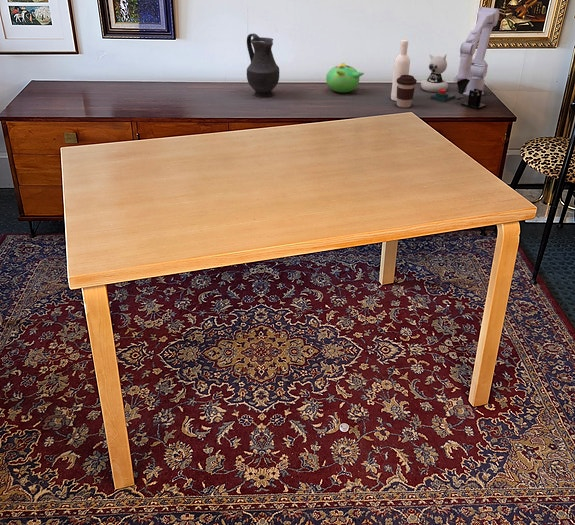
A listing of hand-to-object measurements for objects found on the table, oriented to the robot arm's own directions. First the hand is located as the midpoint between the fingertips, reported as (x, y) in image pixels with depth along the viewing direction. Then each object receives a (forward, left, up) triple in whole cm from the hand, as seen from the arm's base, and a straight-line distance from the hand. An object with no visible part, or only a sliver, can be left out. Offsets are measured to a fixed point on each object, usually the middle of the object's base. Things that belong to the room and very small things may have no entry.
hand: (460, 93), depth 329 cm
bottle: (+20, -25, -5) cm, 32 cm away
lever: (0, +5, -1) cm, 5 cm away
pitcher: (+69, -79, -5) cm, 105 cm away
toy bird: (+33, -53, -5) cm, 62 cm away
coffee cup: (+27, -16, -5) cm, 32 cm away
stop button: (+3, -10, -2) cm, 10 cm away
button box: (+1, -10, -5) cm, 11 cm away
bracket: (0, +8, -5) cm, 10 cm away
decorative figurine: (-9, -23, -5) cm, 25 cm away
